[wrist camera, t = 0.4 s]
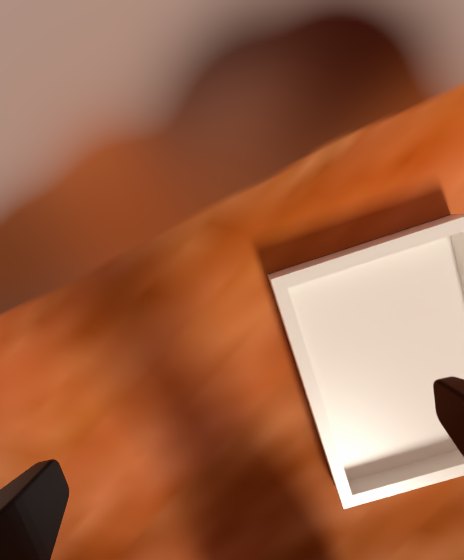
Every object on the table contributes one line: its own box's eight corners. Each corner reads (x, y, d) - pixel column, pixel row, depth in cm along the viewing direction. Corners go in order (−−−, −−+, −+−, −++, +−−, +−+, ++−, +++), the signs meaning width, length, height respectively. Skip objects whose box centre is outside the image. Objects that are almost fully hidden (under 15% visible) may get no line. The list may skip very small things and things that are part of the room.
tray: (502, 438, 23) (526, 457, 21) (334, 485, 24) (343, 509, 22) (451, 214, 21) (473, 213, 19) (267, 274, 22) (270, 279, 20)
